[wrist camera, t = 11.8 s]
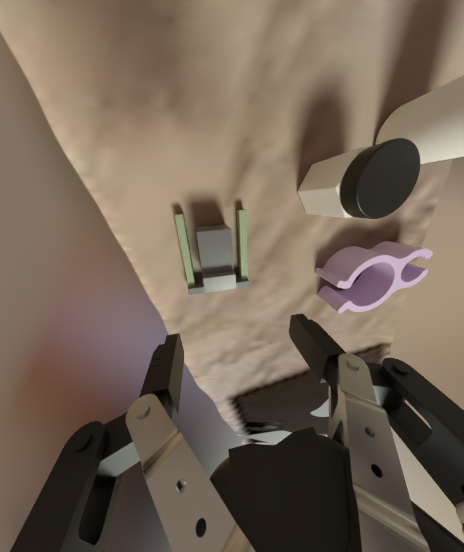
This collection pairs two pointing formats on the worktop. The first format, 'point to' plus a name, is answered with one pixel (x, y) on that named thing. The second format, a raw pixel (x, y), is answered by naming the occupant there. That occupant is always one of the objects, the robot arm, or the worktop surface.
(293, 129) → the worktop surface
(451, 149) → the alcohol
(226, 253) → the upright grey block
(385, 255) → the clip
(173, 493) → the robot arm
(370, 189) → the jar
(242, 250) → the deck socket
